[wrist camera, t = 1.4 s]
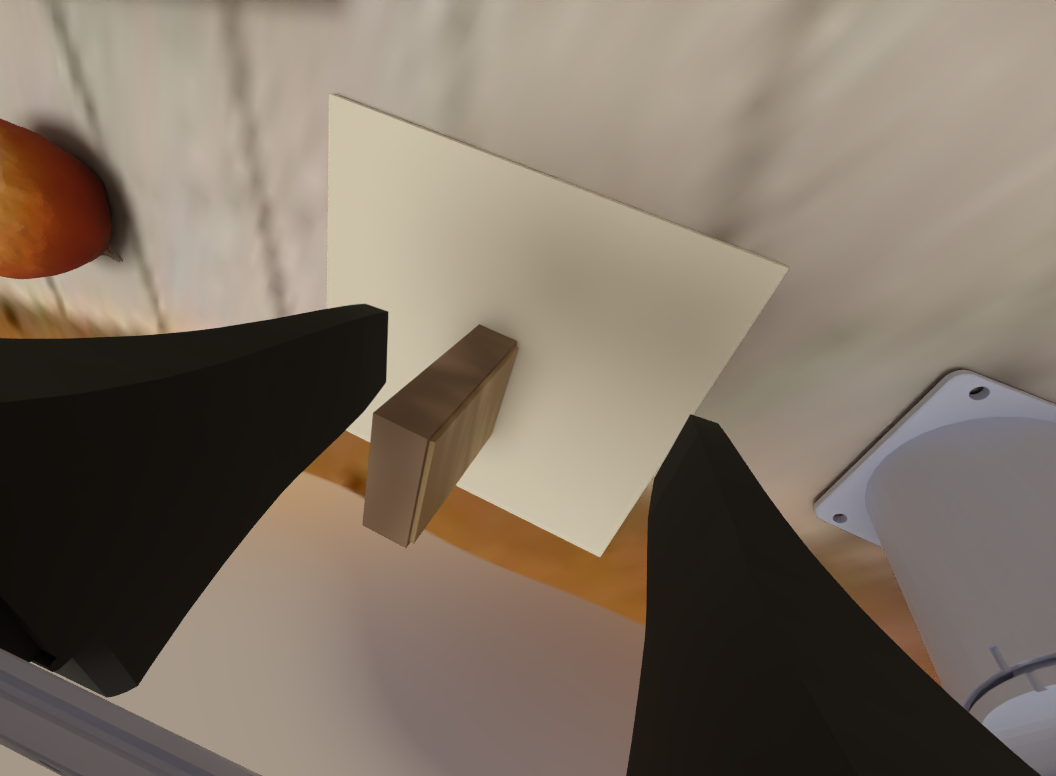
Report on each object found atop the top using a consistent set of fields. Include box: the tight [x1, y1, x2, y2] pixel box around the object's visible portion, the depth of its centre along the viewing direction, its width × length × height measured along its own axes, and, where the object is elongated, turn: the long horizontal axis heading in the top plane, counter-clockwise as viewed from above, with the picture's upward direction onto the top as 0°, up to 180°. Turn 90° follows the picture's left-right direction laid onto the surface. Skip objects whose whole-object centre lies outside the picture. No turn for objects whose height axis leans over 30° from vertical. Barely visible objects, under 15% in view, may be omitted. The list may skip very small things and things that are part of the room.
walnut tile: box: [363, 324, 519, 548], centre depth 19 cm, size 2×6×8 cm, turn 163°
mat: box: [327, 94, 789, 557], centre depth 22 cm, size 19×18×1 cm
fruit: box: [0, 119, 123, 279], centre depth 24 cm, size 8×8×8 cm
